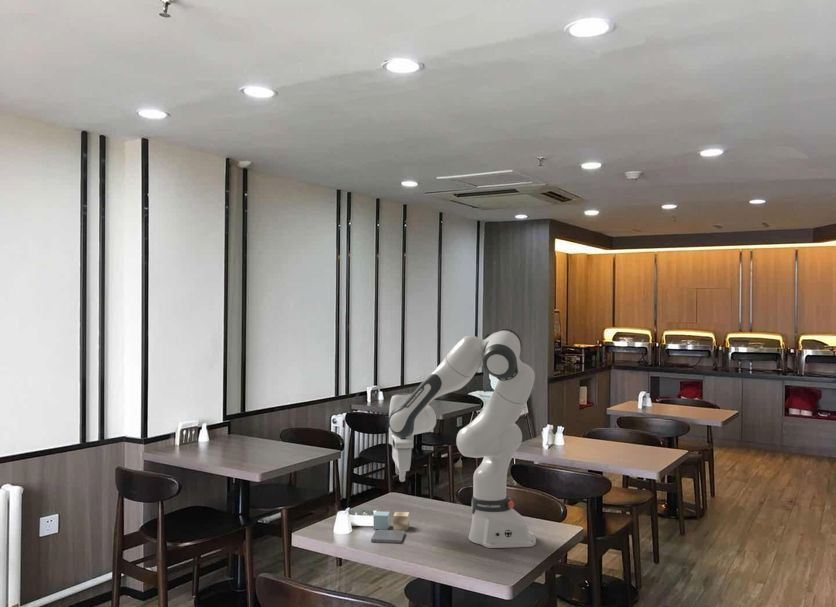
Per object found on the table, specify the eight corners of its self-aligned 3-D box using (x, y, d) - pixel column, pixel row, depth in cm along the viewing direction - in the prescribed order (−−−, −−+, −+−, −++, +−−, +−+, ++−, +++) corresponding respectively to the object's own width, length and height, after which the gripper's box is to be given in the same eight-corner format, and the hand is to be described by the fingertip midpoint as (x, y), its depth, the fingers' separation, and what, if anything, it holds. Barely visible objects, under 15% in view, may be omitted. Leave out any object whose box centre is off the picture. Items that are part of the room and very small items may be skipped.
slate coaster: (404, 533, 232) (404, 530, 232) (401, 543, 222) (401, 540, 222) (376, 532, 233) (376, 529, 233) (371, 542, 223) (371, 539, 223)
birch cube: (409, 526, 241) (409, 512, 241) (407, 530, 236) (407, 516, 236) (395, 525, 241) (395, 511, 241) (393, 530, 236) (393, 515, 236)
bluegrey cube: (389, 525, 241) (389, 511, 241) (387, 530, 236) (387, 515, 236) (375, 525, 242) (375, 511, 242) (373, 529, 237) (373, 515, 237)
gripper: (388, 432, 248) (387, 470, 248) (395, 444, 228) (395, 485, 228) (405, 432, 249) (404, 470, 249) (414, 444, 229) (413, 485, 229)
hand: (400, 477), depth 238 cm, fingers open, 8 cm apart
